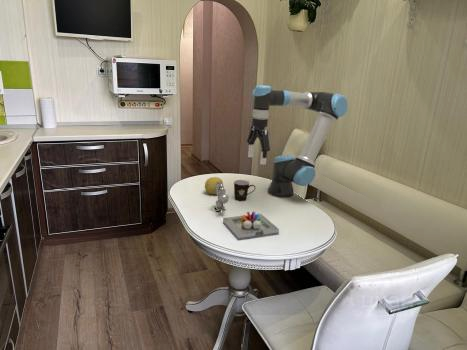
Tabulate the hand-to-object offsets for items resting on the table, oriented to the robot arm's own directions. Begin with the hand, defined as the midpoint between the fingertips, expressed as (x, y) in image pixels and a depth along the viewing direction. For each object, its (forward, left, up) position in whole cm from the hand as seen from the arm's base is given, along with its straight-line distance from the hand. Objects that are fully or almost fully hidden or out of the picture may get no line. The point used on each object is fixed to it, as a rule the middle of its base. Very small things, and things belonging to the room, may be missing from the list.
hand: (256, 160), depth 177 cm
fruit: (+12, -27, -27) cm, 40 cm away
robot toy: (+17, -2, -27) cm, 32 cm away
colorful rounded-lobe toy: (+11, +20, -26) cm, 34 cm away
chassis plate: (+11, +20, -27) cm, 35 cm away
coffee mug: (-1, -14, -27) cm, 30 cm away
